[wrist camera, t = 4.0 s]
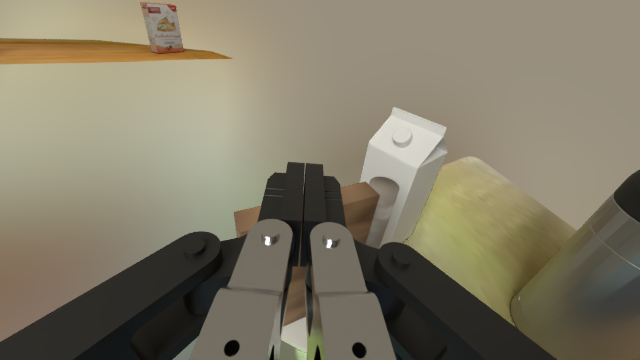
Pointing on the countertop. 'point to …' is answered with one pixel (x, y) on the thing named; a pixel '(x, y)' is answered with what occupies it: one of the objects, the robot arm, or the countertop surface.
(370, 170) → the milk carton
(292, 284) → the brown wooden slab
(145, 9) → the cracker box
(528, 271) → the countertop surface
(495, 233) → the countertop surface
